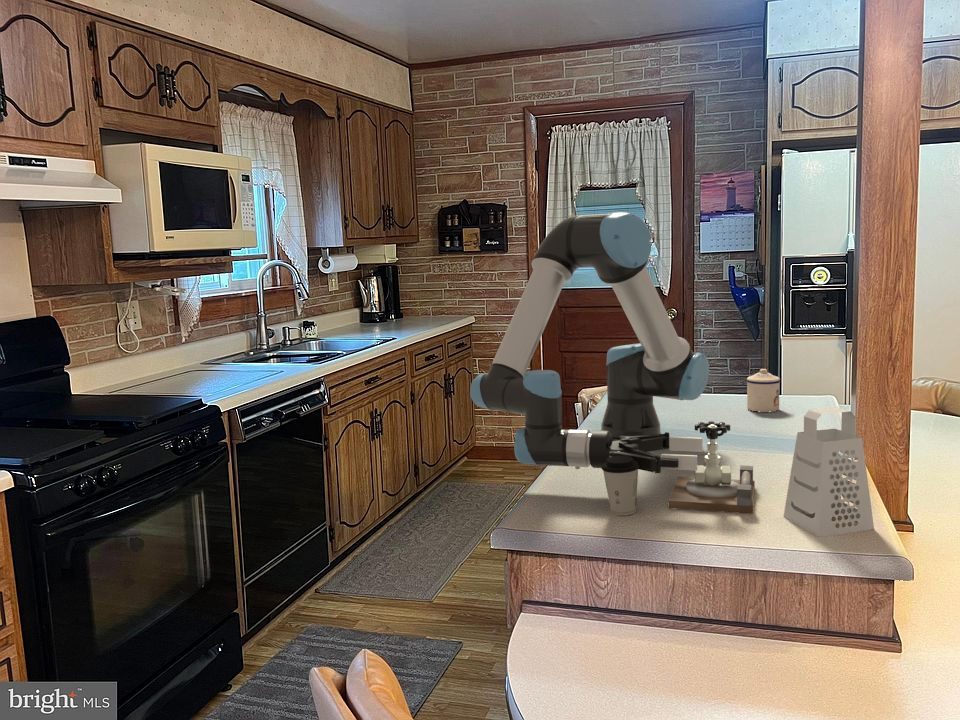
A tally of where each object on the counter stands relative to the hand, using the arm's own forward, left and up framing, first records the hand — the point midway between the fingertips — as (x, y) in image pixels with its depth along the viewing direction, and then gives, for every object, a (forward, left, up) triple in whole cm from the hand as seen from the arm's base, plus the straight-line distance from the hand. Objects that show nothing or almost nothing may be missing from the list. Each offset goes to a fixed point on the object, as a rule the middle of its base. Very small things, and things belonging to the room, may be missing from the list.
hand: (700, 453), depth 160 cm
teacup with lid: (-85, +10, -9) cm, 86 cm away
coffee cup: (+12, -13, -9) cm, 20 cm away
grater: (+10, +22, -9) cm, 26 cm away
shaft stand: (0, +2, -9) cm, 9 cm away
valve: (0, +2, -7) cm, 7 cm away
